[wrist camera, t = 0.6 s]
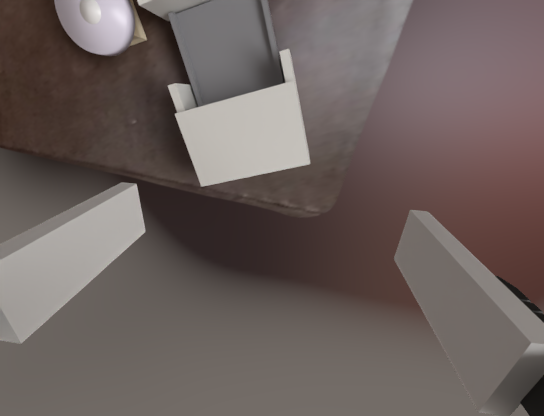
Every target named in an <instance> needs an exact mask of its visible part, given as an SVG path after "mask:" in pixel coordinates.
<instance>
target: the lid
mask: <svg viewBox="0 0 544 416" xmlns="http://www.w3.org/2000/svg"><path fill="white" fill-rule="evenodd" d="M54 1H55V7H56V11H57V15H58V17H59V20H60V22H61V24H62V26H63V28H64V29H65V31H66V33H67V34H68V35H69V37H70V38H71V39H72V40H73V41H74V42H75V43H76V44H77V45H79V46H80V47H81V48H83V49H85V50H86V51H89V52H91V53H95V54H100V55H105V56H115V55H119V54H121V53H122V52H124V51H125V50H126V49H127V48H128V47H129V45H130V44H131V42H132V40H133V37H134V32H135V16H134V11H133V7H132V4H131V2H130V0H54Z"/></svg>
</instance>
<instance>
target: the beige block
mask: <svg viewBox="0 0 544 416" xmlns="http://www.w3.org/2000/svg"><path fill="white" fill-rule="evenodd" d="M130 2H131V4H132V7H133V11H134V16H135V32H134V37H133V40H132V42H131V44H130V45H129V46H132V45H134V44H137V43H140V42H143V41H146V40H147V38H146V35H145V33H144V30H143V27H142V25H141V22H140V19H139V17H138V14H137V11H136V9H135V6H134V3H133V0H130Z"/></svg>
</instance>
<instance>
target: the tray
mask: <svg viewBox="0 0 544 416" xmlns="http://www.w3.org/2000/svg"><path fill="white" fill-rule="evenodd" d="M137 1H138V4H139V6H141V7H143V8H145V9H147V10H148V11H150V12H152V13H154V14H156V15H157V16H159V17H161V18H163V19H165V20H166V21H170V22H171V25H172V28H173V31H174V34H175V37H176V40H177V43H178V46H179V49H180V52H181V55H182V58H183V61H184V64H185V67H186V70H187V73H188V76H189V79H190V82H191V85H192V88H193V91H194V94H195V97H196V100H197V103H198V106H199V107H201V106H204V105H208V104H211V103H215V102H219V101H222V100H226V99H229V98H233V97H237V96H240V95H244V94H247V93H251V92H255V91H258V90H262V89H265V88H269V87H273V86H276V85H280V84H283V83H284V78H283V73H282V68H281V63H280V59H279V54H278V49H277V44H276V39H275V34H274V29H273V24H272V19H271V14H270V9H269V4H268V0H137Z"/></svg>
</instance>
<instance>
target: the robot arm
mask: <svg viewBox="0 0 544 416" xmlns="http://www.w3.org/2000/svg"><path fill="white" fill-rule="evenodd" d="M143 233H145V226H144V221H143V216H142V210H141V205H140V200H139V194H138V189H137V184H134V183H120V184H118V185H116V186H114V187H112V188H110V189H108V190H106V191H104V192H102V193H100V194H98V195H96V196H94V197H92V198H90V199H88V200H86V201H84V202H82V203H80V204H78V205H76V206H74V207H72V208H71V209H68V210H67V211H64V212H62V213H61V214H59V215H57V216H55V217H53V218H51V219H49V220H47V221H45V222H43V223H41V224H39V225H37V226H35V227H33V228H31V229H29V230H27V231H25V232H23V233H21V234H19V235H17V236H15V237H13V238H11V239H9V240H7V241H5V242H3V243H1V244H0V340H1V341H8V342H14V343H22V342H23V341H24V340H26V339H27V338H28V337H29V336H30V335H31V334H32V333H33V332H35V331H36V330H37V329H38V328H39V327H40V326H41V325H42V324H43V323H45V322H46V321H47V320H48V319H49V318H50V317H51V316H52V315H53V314H55V313H56V312H57V311H58V310H59V309H60V308H61V307H62V306H63V305H64V304H66V303H67V302H68V301H69V300H70V299H71V298H72V297H73V296H75V295H76V294H77V293H78V292H79V291H80V290H81V289H82V288H83V287H85V286H86V285H87V284H88V283H89V282H90V281H91V280H92V279H93V278H95V276H97V275H98V274H99V273H100V272H101V271H102V270H103V269H105V268H106V267H107V266H108V265H109V264H110V263H111V262H112V261H113V260H115V259H116V258H117V257H118V256H119V255H120V254H121V253H122V252H123V251H125V250H126V249H127V248H128V247H129V246H130V245H131V244H132V243H133V242H134V241H136V240H137V239H138V238H139V237H140V236H141V235H142V234H143ZM394 260H395V262H396V264H397V265H398V267H399V269H400V271H401V273H402V274H403V276H404V278H405V280H406V282H407V284H408V285H409V287H410V289H411V291H412V293H413V295H414V296H415V298H416V300H417V301H418V304H419V305H420V307H421V309H422V311H423V312H424V314H425V316H426V318H427V320H428V322H429V324H430V325H431V327H432V329H433V331H434V333H435V335H436V336H437V338H438V340H439V342H440V344H441V346H442V347H443V349H444V351H445V353H446V354H447V356H448V358H449V360H450V362H451V364H452V365H453V367H454V369H455V371H456V373H457V375H458V376H459V378H460V380H461V382H462V384H463V386H464V387H465V389H466V391H467V393H468V395H469V397H470V398H471V400H472V402H473V404H474V406H475V407H476V409H477V411H478V412H480V413H486V414H493V415H500V416H510V415H511V414H512V413H513V412H514V411H515V409H516V408H517V407H518V406H519V405H520V404H522V405H523V407H524V408H525V410H526V411H527V413H528V414H529V415H530V416H544V314H543V313H542V311H541V310H540V309H539V308H538V307H537V306H536V305H535V304H533V303H530V300H529V299H528V298H527V297H526V296H525V295H524V294H523V293H522V292H520V291H519V290H518V289H517V288H516V287H514V286H513V285H511V284H510V283H508V282H506V281H505V280H503V279H502V278H500V277H498V276H494V275H493V274H492V273H491V272H490V271H489V270H488V269H487V268H486V267H485V266H484V265H483V264H482V263H481V262H480V261H479V260H478V259H477V258H476V257H475V256H473V255H472V254H471V253H470V252H469V251H468V250H467V249H466V248H465V247H464V246H463V245H462V244H461V243H460V242H459V241H458V240H457V239H456V238H455V237H454V236H453V235H452V234H450V233H449V232H448V231H447V230H446V229H445V228H444V227H443V226H442V225H441V224H440V223H439V222H438V221H437V220H436V219H435V218H434V217H433V216H432V215H431V214H429V212H426V211H415V210H410V212H409V216H408V218H407V221H406V224H405V228H404V231H403V233H402V236H401V239H400V242H399V245H398V249H397V251H396V254H395V257H394Z"/></svg>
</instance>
